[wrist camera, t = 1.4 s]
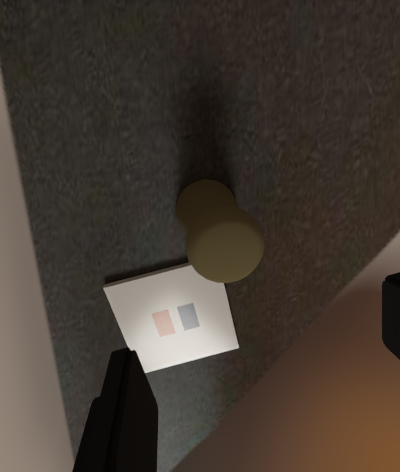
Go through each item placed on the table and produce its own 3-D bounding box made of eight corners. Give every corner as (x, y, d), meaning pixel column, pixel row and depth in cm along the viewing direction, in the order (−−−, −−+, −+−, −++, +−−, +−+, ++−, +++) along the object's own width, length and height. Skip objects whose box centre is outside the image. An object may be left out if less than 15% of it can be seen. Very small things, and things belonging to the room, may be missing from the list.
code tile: (216, 254, 29) (218, 258, 28) (237, 343, 33) (238, 347, 32) (105, 284, 28) (103, 288, 28) (140, 369, 33) (139, 374, 32)
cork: (165, 194, 26) (163, 232, 16) (223, 168, 26) (260, 189, 16) (190, 248, 28) (203, 311, 18) (244, 224, 28) (289, 275, 18)
